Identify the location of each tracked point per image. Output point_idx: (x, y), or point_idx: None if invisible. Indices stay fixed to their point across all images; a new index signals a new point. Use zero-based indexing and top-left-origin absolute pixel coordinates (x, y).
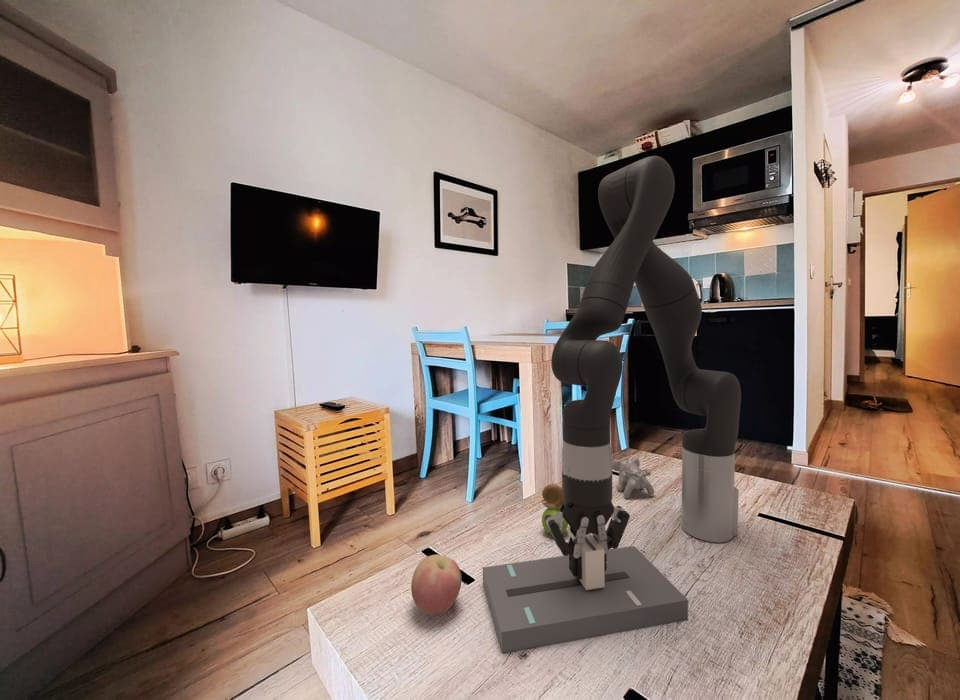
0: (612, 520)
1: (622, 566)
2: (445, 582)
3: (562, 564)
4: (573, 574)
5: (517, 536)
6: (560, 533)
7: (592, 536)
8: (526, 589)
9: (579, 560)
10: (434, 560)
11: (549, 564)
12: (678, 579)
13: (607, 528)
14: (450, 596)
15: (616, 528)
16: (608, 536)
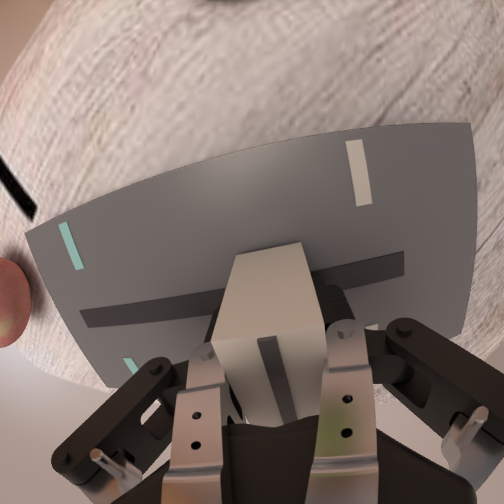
0: (458, 400)
1: (408, 223)
2: (4, 345)
3: (207, 208)
4: None
5: (115, 12)
6: (142, 470)
7: (324, 358)
8: (115, 315)
9: None
10: None
11: (163, 210)
12: (490, 204)
13: (421, 361)
14: (21, 333)
15: (432, 422)
16: (400, 360)
